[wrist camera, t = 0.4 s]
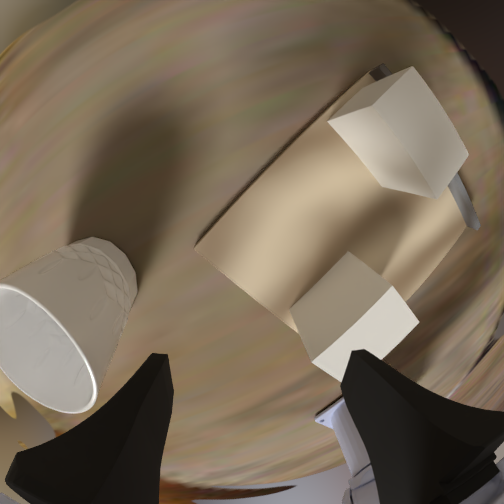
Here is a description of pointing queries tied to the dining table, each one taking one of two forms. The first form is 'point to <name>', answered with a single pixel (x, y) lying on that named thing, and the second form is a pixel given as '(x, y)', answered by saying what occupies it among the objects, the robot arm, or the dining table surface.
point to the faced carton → (402, 134)
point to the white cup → (65, 322)
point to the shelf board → (330, 220)
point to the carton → (350, 316)
